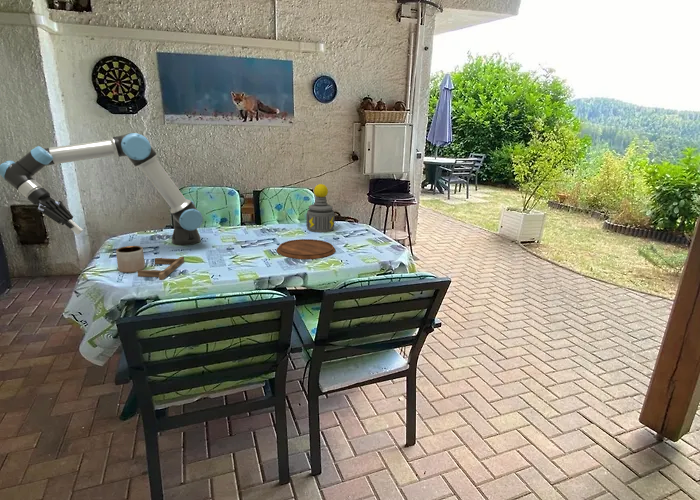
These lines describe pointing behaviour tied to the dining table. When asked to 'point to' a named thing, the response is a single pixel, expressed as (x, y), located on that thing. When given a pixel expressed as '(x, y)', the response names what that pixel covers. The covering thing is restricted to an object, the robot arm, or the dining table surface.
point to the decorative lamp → (320, 212)
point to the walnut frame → (162, 274)
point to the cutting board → (306, 249)
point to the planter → (130, 259)
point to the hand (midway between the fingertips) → (80, 232)
